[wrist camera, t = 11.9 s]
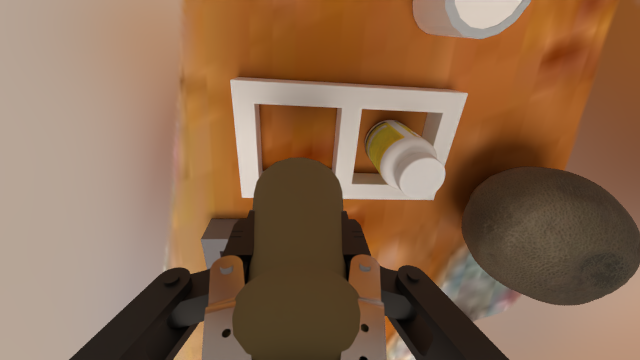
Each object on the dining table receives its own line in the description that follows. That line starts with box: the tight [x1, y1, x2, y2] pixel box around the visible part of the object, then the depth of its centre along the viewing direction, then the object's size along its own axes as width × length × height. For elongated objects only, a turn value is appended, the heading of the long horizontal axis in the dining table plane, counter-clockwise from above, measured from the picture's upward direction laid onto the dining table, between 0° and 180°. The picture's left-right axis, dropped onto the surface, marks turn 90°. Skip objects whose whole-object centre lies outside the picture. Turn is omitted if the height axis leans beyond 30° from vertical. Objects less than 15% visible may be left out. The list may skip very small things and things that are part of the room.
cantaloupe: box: [461, 167, 640, 305], centre depth 27 cm, size 14×14×15 cm
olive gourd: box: [226, 158, 366, 360], centre depth 12 cm, size 6×6×11 cm
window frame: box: [230, 77, 468, 200], centre depth 27 cm, size 23×12×3 cm, turn 86°
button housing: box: [201, 219, 239, 270], centre depth 33 cm, size 9×9×4 cm
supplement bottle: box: [365, 120, 445, 199], centre depth 25 cm, size 5×5×10 cm
